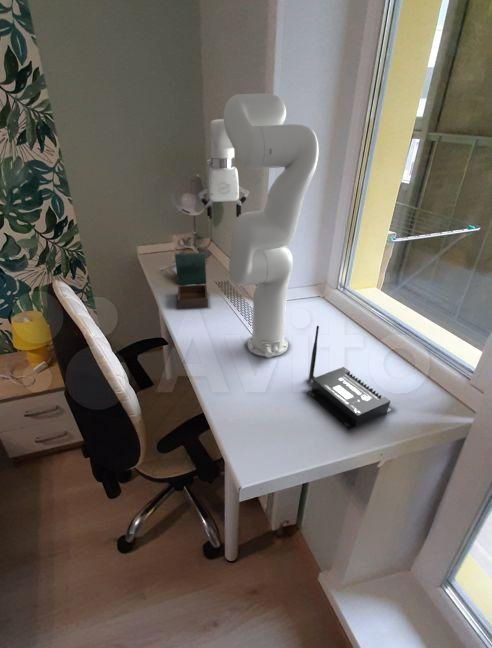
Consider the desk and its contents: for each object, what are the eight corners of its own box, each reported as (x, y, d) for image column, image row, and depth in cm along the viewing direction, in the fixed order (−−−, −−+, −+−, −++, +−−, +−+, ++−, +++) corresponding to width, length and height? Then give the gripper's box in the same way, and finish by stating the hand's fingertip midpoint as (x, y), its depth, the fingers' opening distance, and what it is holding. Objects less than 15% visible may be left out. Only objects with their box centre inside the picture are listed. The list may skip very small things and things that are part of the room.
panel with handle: (204, 253, 141) (204, 246, 145) (174, 255, 140) (175, 247, 144) (206, 283, 150) (205, 276, 154) (178, 285, 150) (178, 277, 154)
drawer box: (208, 307, 142) (207, 298, 140) (178, 309, 142) (177, 299, 140) (206, 293, 153) (206, 284, 151) (179, 294, 152) (178, 285, 150)
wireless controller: (392, 410, 94) (409, 352, 84) (349, 430, 88) (362, 371, 79) (336, 368, 109) (345, 315, 99) (296, 383, 103) (302, 329, 94)
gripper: (196, 166, 121) (199, 221, 130) (250, 164, 122) (249, 219, 131) (196, 163, 127) (199, 215, 137) (247, 161, 128) (247, 213, 137)
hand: (224, 217), depth 134 cm, fingers open, 9 cm apart
